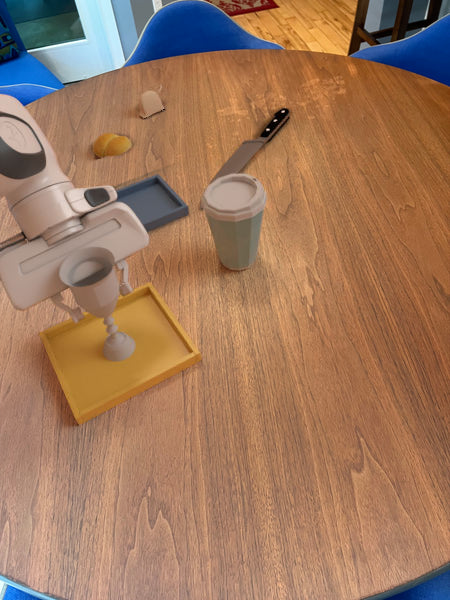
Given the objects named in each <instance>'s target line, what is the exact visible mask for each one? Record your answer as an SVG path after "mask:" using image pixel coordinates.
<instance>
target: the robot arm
mask: <svg viewBox="0 0 450 600" xmlns="http://www.w3.org/2000/svg"><path fill="white" fill-rule="evenodd" d="M115 190H116V189H115V188H114V186H112V185H108V184H107V185H99V186H97V185H96V186H89V187H79V188H77V187H76V188H75V186H74V184H73V182H72V180H71V179H70V178H69V177H68V176H67V175H66V174H65V172H64V171H63V170H62V169H61V167H60V164H59V162H58V157H57V153H56V152H55V150H54V148H53V147H52V145H51V143H50V142H49V140H48V138H47V137H46V135H45V133H44V132H43V130H42V129H41V127H40V126H39V124H38V123H37V121H36V120H35V119H34V117H33V116H32V115H31V114H30V112H29V111H28V110H27V108H26V107H25V106H24V105H23V104H22V103H21V102H20V101H19V100H18V99H17V98H16V97H14V96H12V95H9V94H4V93H3V94H2V93H0V200H1V199H3V198H4V197H5V200H6V203H7V207H8V210H9V212H10V214H11V215H12V217H13V218H14V220H15V222H16V224H17V225H18V227H19V229H20V231H21V232H19V233H16V234H14V235H12V236H10V237H8V238H6V239H5V240H3V241H1V242H0V282H1V284H2V287H3V289H4V291H5V294H6V296H7V298H8V300H9V301H10V304H11V305H12V307H13V309H15V310H16V311H20V312H25V311H27V310H30V309H31V308H33V307H35V306H37V305H39V304H41V303H43V302H45V301H46V300H49V299H50V301H51V302H52V304H53V306H54V307H55V308H58V309H60V310H62V311H63V312H65V313H68V315H69V317H70V318H72V320H73V322H74V323H75V324H76V323H77V322H79V321H81V320H83V319H84V318H85V317H84V315H83V314H82V313H83V312H82V310H81V307H80V306H77V307H76V308H72V307H71V306H68V305H66V304H65V303H63V301H64V300H65V299H64V297H63V294H62V292H64V291H66V290H68V289H70V287H69V286H68V285H66V284H65V283H64V282H63V281H62V280H61V278H60V275H59V273H60V268H61V266H62V264H63V262H64V261H65V260H66V259H67V258H68V257H69V256H70V255H72V254H73V253H75V252H77V251H79V250H81V249H84V248H89V247H102V248H105V249H108V250H109V251H110V252H112V254H113V255H114V257H115V264H114V269H115V271H116V272H120V283H119V292H120V295H122V297H125V296H127V295H128V294H130V293H132V292H133V288H132V286H131V284H130V282H129V269H130V267H129V266H130V265H129V264H128V262H127V260H126V259H128V258H129V257H132V256H133V255H136V254H138V253H139V252H142V251H144V250H145V249H147V248H148V247H149V245H150V235H149V233H148V232H147V231H146V230H145V228H144V226H143V225H142V223H141V222H140V220H139V219H138V217H137V216H136V215H135V213H134V212H133V211H132V209H131V208H130V207H129V206H127V205H126V204H124V203H122V202H116V200H117V193H116V191H115ZM103 269H105V267H104V266H103V265H102V264H100V263H97V262H85V263H83V264H81V265H80V266H79V267H78V268H76V270H75V272H74V274H73V279H72V284H73V285H74V284H76V283H78V282H80V281H82V280H84V279H86V278H88V277H90V276H91V275H93V274H95V273H97V272H99V271H101V270H103Z"/></svg>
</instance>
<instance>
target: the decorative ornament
mask: <svg viewBox="0 0 450 600" xmlns="http://www.w3.org/2000/svg"><path fill="white" fill-rule="evenodd" d="M162 88H163V85H162V84H159V85H158V86H157V87H156V89H154V90H155V91H154V90H146V91H144V92H143V93H141V95H139V98H138V103H137V104H138V109H139V113H138V114H139V116H140V117H141V118H143V119H144V118H146V117H147V118H149V117H150V116H152V115H154V114H156V113H158V112H161V110H162V111H164V110H163V109H164V108H165V107H164V106H163V103H162V99H161V97H160V96H159V95H160V93H161V91H162ZM147 118H146V119H147Z"/></svg>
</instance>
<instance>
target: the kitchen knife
mask: <svg viewBox="0 0 450 600" xmlns="http://www.w3.org/2000/svg"><path fill="white" fill-rule="evenodd" d="M290 113H291V112H290V109H288V108H287V107H283V108H281V109H279V110H278V111H275V112H274V113H273V118H272V119H271V120H270V121H269V122H268V123H267V125H266V126H265V127H264V129H263V130H262V132H261V133H260V135H259V137H257V138H253V139H245V140H243V141H242V143H241V144H240V146H239V147H238V148H237V149H236V150H235V151H234V152H233V154H232V155H231V156H230V157H229V158H228V159H227V160H226V162H225V163H224V164H223V165H222V167H221V168H220V169H219V170H218V172H217V173H216V174H215V175H214V177H213V179H212V180H211V181H210V183H209V184H208V186H209V185H210V184H211V183H212V182H214V181H215V180H216V179H218V178H220V177H223V176H226V175H229V174H240V172H241V171H242V170H243V169H244V167H245V166H246V165H247V164H248V163H249V161H250V160H251V159H252V158H253V157H254V156H255V155H256V154H257V153H258V151H259V150H260V149H261V148H262V147H263V146H264V145H266V144H267V142H271V141H272V139H274V137H275V136H276V135H277V133H279V131H280V130H281V129H282V128H283V127H284V126H285V125H286V123H287V122H288V121H289V120H290V118H291V114H290ZM202 209H203V207H202V205H201V204H200V206H199V210H202Z"/></svg>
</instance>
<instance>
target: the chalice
mask: <svg viewBox="0 0 450 600" xmlns="http://www.w3.org/2000/svg"><path fill="white" fill-rule="evenodd" d="M85 262H97V263H100V264H102V265H103V266H104V267H105V269H103V270H101V271H99V272H97V273H95V274H93V275H91V276H90V277H88V278H86V279H84V280H82V281H80V282H78V283H76V284H74V285H73V284H72V279H73V274H74V272H75V270H76V268H78V267H79V266H80V265H81V264H83V263H85ZM114 264H115V257H114V255H113V254H112V252H110V251H109V250H108V249H105V248H102V247H89V248H84V249H81V250H79V251H77V252H75V253H73V254H72V255H70V256H69V257H68V258H67V259H66V260H65V261H64V262H63V264H62V266H61V268H60V273H59V275H60V278H61V280H62V281H63V282H64V283H65V284H66V285H68V286H69V287H70V288H69V290H70V293H71V294H72V296H73V299H74V301H75V302H76V304H77V306H78V307H79V308H81V309H82V310H84V312H85V311H87V312H88V313H90V314H92V315H94V316H96V317H98V318H104V321H103V323H104V325H107V328H106V332H107V333H109V335H108V336H107V338H106V339H105V343H104V347H103V354H104V356H105V357H106V358H107V359H108V360H111V361H117V362H118V361H122V360H125V359H127V358H128V357H129V356H131V355H132V353H133V352H134V350H135V341H134V340H133V338H131V337H130V336H128V335H127V334H126V333H124V332H120V331H117V329H118V326H117V325H115V324H113V322H114V318H113V317H111V316H110V315H112V313H113V312H114V309H115V306H116V303H117V300H118V296H120V291H119V285H120V283H119V280H118V276H117V274H116V269H115V267H114ZM116 331H117V332H116Z"/></svg>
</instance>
